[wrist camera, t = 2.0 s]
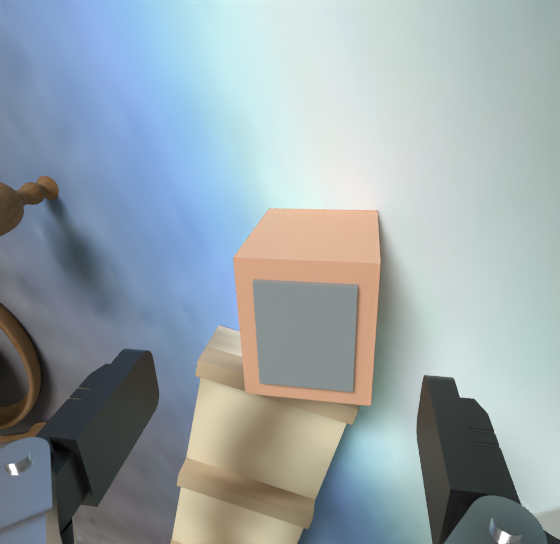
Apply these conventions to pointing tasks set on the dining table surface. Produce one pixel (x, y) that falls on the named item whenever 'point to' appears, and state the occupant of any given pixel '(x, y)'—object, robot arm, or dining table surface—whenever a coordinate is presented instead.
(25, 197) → the place setting
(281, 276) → the frame block
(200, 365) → the light wooden ridged board
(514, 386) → the dining table surface
